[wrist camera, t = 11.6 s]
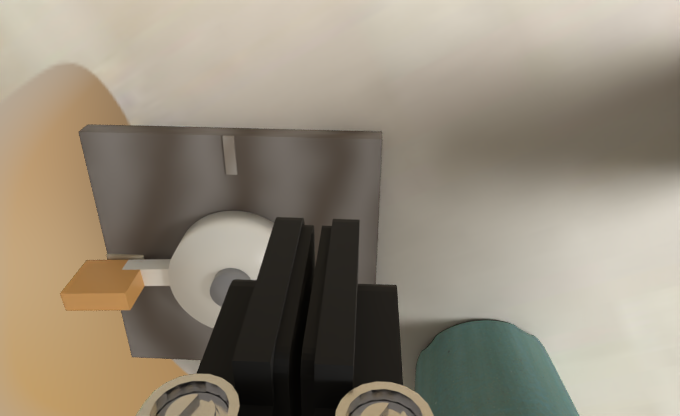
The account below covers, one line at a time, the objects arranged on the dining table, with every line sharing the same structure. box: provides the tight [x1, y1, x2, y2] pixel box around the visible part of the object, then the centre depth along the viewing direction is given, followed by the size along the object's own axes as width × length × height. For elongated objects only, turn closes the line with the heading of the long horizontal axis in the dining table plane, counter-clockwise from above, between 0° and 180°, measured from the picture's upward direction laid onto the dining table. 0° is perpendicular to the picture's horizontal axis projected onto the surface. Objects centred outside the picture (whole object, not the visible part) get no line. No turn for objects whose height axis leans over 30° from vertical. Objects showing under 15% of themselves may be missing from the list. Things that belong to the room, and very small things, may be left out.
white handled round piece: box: [60, 211, 274, 328], centre depth 43 cm, size 18×10×5 cm, turn 93°
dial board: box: [79, 125, 382, 360], centre depth 46 cm, size 22×22×2 cm
